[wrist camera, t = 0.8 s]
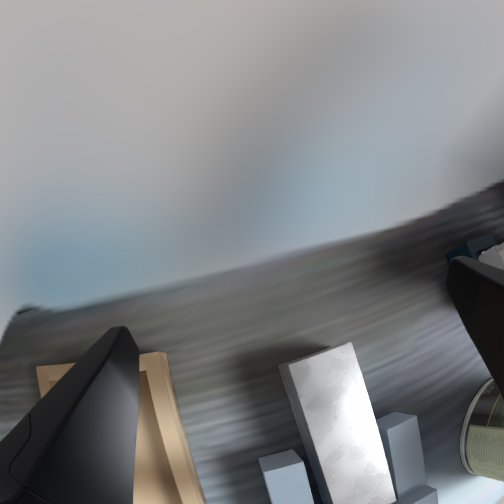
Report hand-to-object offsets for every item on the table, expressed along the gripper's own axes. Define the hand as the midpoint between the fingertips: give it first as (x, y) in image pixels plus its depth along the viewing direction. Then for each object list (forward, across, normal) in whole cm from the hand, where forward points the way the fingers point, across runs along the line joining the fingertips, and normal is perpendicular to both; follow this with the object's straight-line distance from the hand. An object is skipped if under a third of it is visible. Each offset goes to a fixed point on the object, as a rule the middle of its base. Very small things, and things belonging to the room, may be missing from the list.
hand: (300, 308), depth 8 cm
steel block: (+4, -2, +16) cm, 16 cm away
